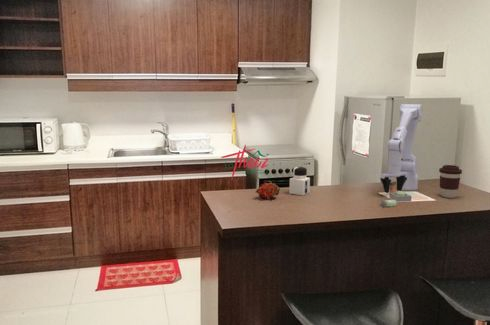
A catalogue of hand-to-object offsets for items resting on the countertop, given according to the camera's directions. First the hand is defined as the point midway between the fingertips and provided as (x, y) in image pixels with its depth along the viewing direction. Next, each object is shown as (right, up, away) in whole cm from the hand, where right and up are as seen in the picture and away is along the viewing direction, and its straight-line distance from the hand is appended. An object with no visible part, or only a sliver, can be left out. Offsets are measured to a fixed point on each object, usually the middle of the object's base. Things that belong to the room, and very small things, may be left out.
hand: (392, 191), depth 208 cm
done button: (0, -2, -9) cm, 9 cm away
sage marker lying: (-8, -5, -19) cm, 21 cm away
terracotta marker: (0, -1, 0) cm, 1 cm away
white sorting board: (+6, -3, -3) cm, 7 cm away
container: (-44, -1, +6) cm, 45 cm away
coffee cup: (+27, -2, +1) cm, 27 cm away
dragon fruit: (-61, -3, -4) cm, 61 cm away
